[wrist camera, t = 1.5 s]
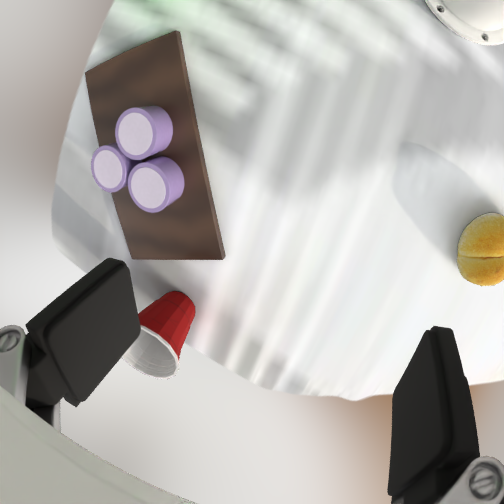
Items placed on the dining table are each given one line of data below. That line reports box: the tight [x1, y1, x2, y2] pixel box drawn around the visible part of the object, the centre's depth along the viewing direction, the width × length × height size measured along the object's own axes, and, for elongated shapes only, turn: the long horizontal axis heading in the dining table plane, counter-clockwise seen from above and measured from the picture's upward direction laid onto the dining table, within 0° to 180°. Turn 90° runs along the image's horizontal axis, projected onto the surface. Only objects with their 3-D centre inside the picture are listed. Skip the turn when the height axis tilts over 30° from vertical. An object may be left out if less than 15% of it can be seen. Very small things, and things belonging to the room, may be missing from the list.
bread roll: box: [457, 213, 504, 286], centre depth 28 cm, size 8×9×4 cm
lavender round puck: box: [128, 156, 184, 213], centre depth 37 cm, size 6×6×4 cm
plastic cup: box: [122, 291, 195, 379], centre depth 45 cm, size 11×11×12 cm
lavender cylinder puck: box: [91, 142, 142, 192], centre depth 38 cm, size 6×6×4 cm
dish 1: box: [115, 105, 173, 160], centre depth 34 cm, size 6×6×4 cm
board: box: [85, 31, 225, 260], centre depth 38 cm, size 30×16×1 cm, turn 10°
